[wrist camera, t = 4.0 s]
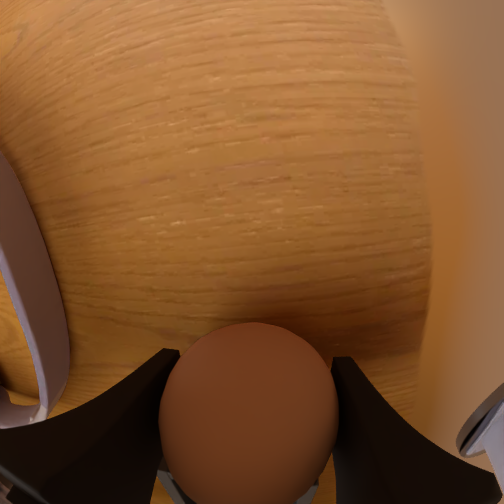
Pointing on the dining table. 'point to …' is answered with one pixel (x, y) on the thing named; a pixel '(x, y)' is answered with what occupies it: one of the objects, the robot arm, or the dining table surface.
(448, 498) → the robot arm
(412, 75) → the dining table surface
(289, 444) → the egg
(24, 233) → the headphones
